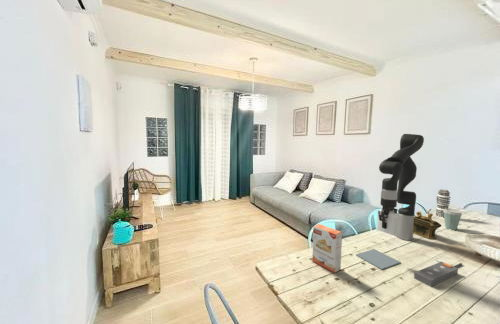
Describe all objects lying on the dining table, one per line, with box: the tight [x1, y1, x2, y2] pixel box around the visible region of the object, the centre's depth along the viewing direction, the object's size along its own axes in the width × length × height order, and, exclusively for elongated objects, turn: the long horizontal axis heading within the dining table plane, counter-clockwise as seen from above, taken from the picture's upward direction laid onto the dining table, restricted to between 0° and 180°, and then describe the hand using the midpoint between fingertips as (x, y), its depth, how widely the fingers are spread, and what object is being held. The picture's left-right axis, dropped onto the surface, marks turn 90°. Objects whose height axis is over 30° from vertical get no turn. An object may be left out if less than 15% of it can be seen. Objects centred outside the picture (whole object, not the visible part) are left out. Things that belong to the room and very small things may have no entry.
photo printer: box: [376, 209, 398, 237], centre depth 119 cm, size 10×4×12 cm, turn 27°
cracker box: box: [312, 223, 343, 274], centre depth 116 cm, size 14×6×21 cm, turn 37°
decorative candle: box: [435, 189, 451, 218], centre depth 191 cm, size 9×9×25 cm
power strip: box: [413, 261, 463, 288], centre depth 110 cm, size 7×37×4 cm, turn 114°
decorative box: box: [413, 208, 442, 240], centre depth 157 cm, size 20×10×20 cm, turn 19°
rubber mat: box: [355, 248, 402, 271], centre depth 123 cm, size 16×16×1 cm
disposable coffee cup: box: [443, 208, 463, 231], centre depth 166 cm, size 11×11×15 cm
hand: (387, 227), depth 120 cm, fingers closed on photo printer, 4 cm apart
